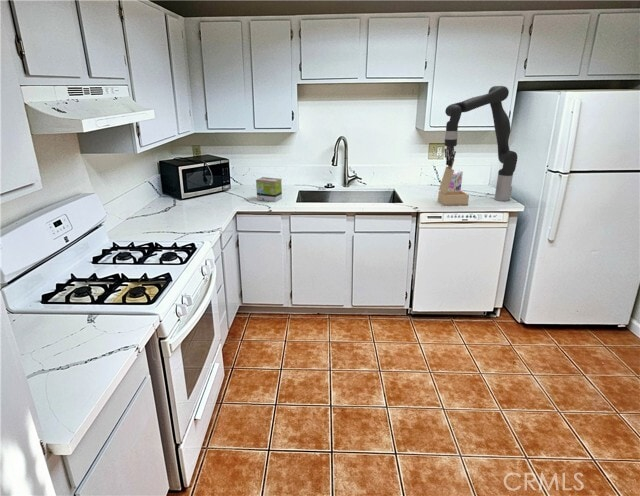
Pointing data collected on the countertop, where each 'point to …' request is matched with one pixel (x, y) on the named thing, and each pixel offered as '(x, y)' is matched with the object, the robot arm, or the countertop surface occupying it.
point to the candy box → (456, 181)
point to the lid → (446, 179)
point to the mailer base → (453, 198)
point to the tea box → (269, 189)
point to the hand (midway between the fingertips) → (448, 165)
